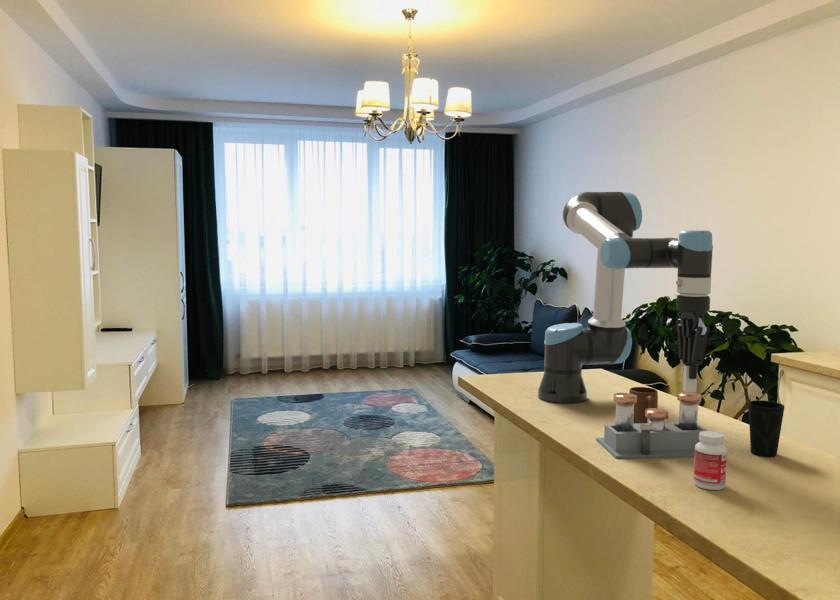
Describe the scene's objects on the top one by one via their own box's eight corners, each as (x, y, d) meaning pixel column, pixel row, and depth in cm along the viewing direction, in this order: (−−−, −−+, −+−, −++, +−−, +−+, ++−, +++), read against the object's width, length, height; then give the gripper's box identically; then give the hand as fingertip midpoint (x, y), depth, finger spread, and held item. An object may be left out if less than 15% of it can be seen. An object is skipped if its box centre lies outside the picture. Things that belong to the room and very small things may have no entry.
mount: (596, 440, 175) (596, 420, 174) (691, 438, 177) (692, 419, 176) (615, 458, 161) (616, 437, 160) (719, 455, 163) (720, 435, 162)
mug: (666, 432, 182) (667, 397, 181) (637, 431, 182) (638, 397, 181) (651, 419, 194) (652, 386, 193) (624, 419, 194) (625, 386, 193)
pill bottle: (725, 492, 140) (728, 439, 139) (693, 488, 142) (695, 436, 141) (724, 482, 146) (726, 431, 145) (693, 478, 148) (695, 428, 147)
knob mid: (640, 441, 171) (641, 408, 170) (661, 440, 172) (662, 407, 171) (649, 448, 166) (650, 414, 165) (671, 447, 166) (672, 413, 165)
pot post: (637, 451, 164) (638, 423, 163) (648, 451, 164) (649, 423, 163) (641, 455, 161) (642, 427, 160) (652, 455, 161) (653, 426, 161)
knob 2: (672, 425, 171) (673, 391, 170) (693, 424, 172) (694, 391, 171) (682, 431, 166) (683, 397, 165) (703, 430, 166) (705, 396, 165)
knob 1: (609, 426, 170) (610, 393, 169) (630, 425, 171) (631, 392, 170) (617, 432, 165) (618, 398, 164) (639, 432, 165) (640, 398, 164)
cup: (738, 450, 166) (741, 402, 165) (761, 446, 169) (764, 399, 168) (765, 460, 159) (768, 409, 158) (789, 456, 162) (792, 406, 161)
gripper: (666, 292, 172) (663, 385, 174) (690, 297, 159) (686, 397, 161) (695, 292, 172) (692, 384, 175) (722, 297, 159) (717, 397, 162)
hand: (689, 391), depth 168 cm, fingers closed
